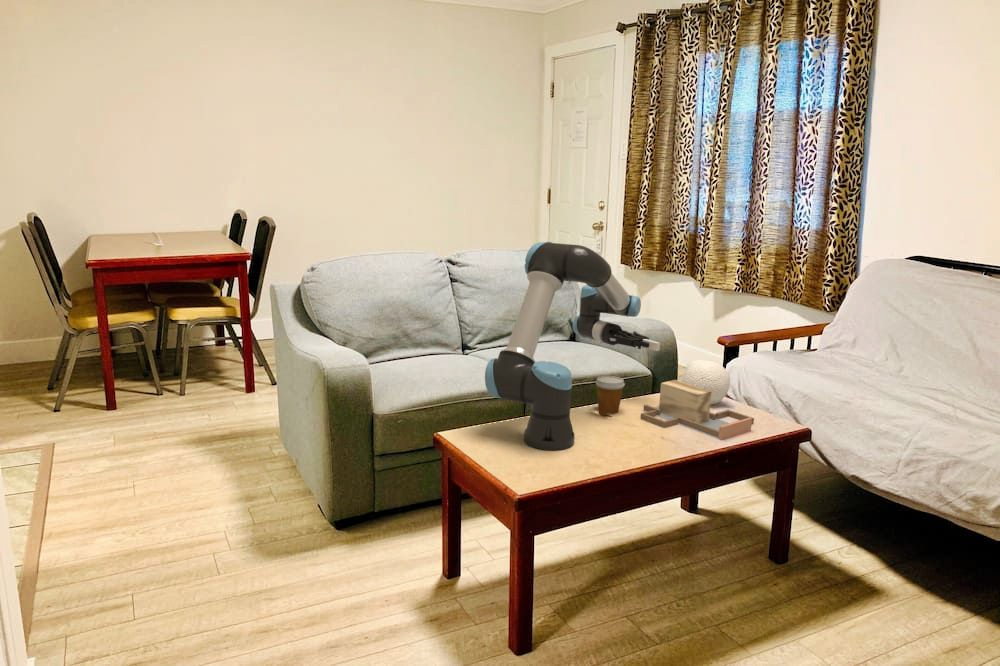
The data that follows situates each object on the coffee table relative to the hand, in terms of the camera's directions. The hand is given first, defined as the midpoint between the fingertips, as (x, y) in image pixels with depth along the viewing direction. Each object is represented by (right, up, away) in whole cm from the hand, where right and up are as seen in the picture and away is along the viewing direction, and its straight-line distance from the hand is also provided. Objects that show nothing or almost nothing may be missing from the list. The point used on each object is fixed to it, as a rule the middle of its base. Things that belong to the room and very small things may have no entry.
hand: (658, 347), depth 256 cm
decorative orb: (+18, -20, +12) cm, 30 cm away
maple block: (+7, -23, -5) cm, 24 cm away
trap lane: (+10, -25, -8) cm, 28 cm away
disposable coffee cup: (-17, -22, -2) cm, 28 cm away
